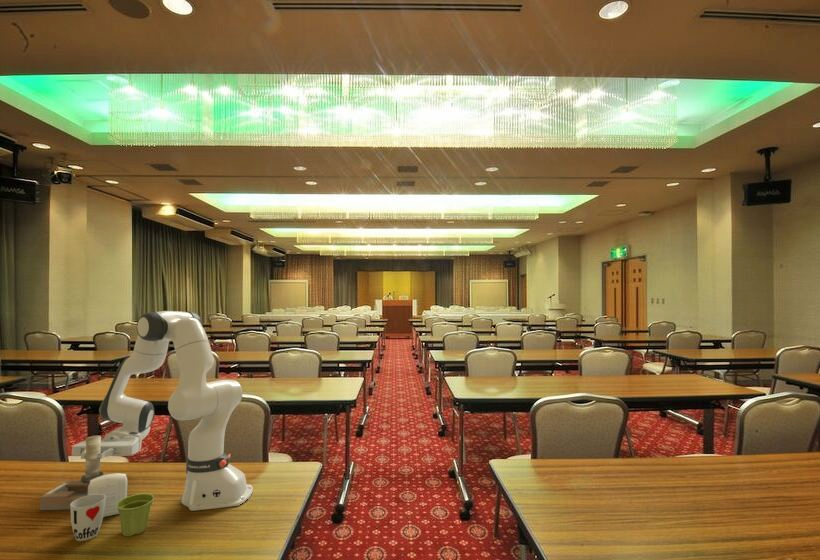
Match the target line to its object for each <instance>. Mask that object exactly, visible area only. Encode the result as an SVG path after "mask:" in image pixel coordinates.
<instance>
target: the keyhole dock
mask: <svg viewBox="0 0 820 560" xmlns="http://www.w3.org/2000/svg"><path fill="white" fill-rule="evenodd" d="M89 484H90V483H82V482H81V479H80V480H78V479H76V480H67V481H65V482H63V483H61V484H60V485H58V486H57V487H55V488H53V489H51V490H50V491H48V492H46V493H44V494H43V495H42V496H40V499H39V500H40V503H39V504H40V505H39V511H56V510H57V511H58V510H60V511H62V510H71V509H70V504H71V503H72V502H73V501H74V500H76V499H78V498H81V497H84V496H88V486H89Z"/></svg>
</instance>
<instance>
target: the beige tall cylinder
mask: <svg viewBox="0 0 820 560" xmlns="http://www.w3.org/2000/svg"><path fill="white" fill-rule="evenodd" d="M101 439H102V436H101V435H92V436H88V437H86V438H85V441H86V459H85V462H84V465H85V467H84V475H82V476H81V477H80V480H81V482H82V483H90V480H92V479H95V478H97V477H100V476H103V475H104V472H102V471H101V459H99V458H98V453H100V449H101Z"/></svg>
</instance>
